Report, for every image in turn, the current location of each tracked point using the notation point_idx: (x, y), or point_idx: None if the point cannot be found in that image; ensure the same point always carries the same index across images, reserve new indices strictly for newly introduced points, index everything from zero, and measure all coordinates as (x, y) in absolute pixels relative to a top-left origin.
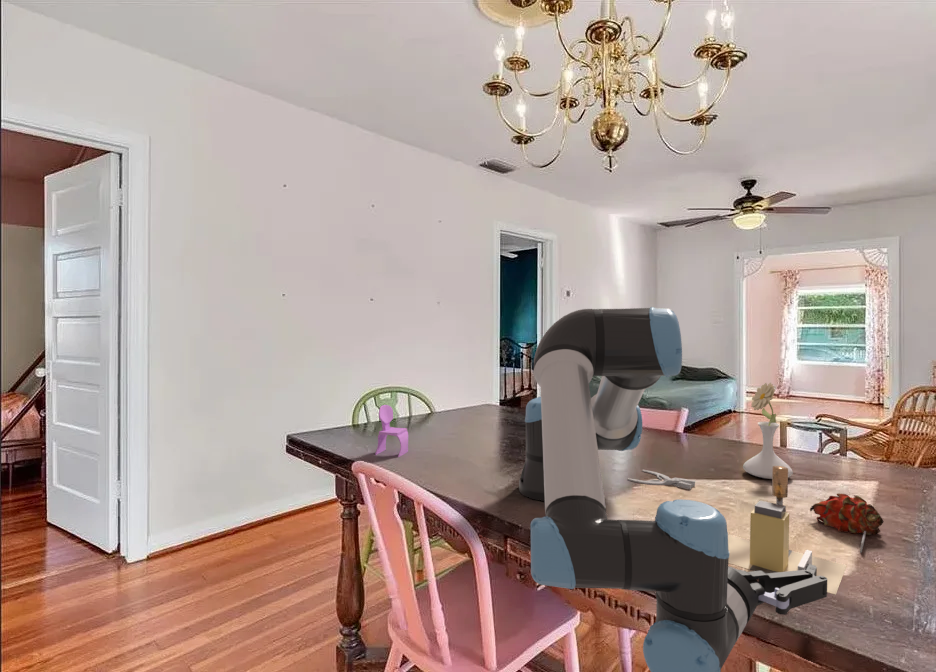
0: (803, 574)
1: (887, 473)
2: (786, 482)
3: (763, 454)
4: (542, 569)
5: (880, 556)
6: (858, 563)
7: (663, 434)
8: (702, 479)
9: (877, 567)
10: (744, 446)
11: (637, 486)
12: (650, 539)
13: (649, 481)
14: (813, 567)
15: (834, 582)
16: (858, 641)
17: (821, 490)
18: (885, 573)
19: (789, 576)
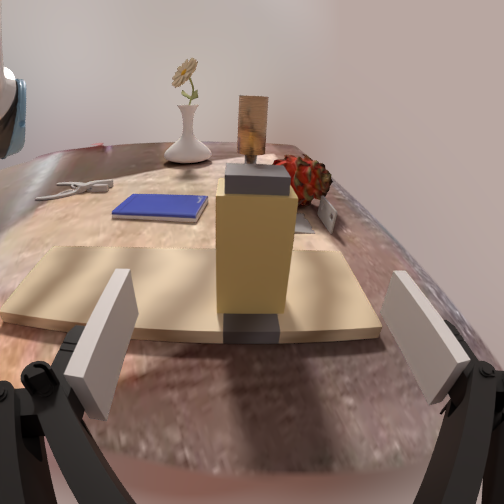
0: (494, 395)
1: (274, 148)
2: (266, 123)
3: (184, 138)
4: None
5: (342, 223)
6: (335, 241)
7: (91, 149)
8: (122, 177)
9: (354, 240)
10: (162, 144)
11: (43, 205)
12: None
13: (59, 194)
14: (452, 331)
15: (358, 296)
16: None
17: None
18: (367, 246)
19: (489, 443)
